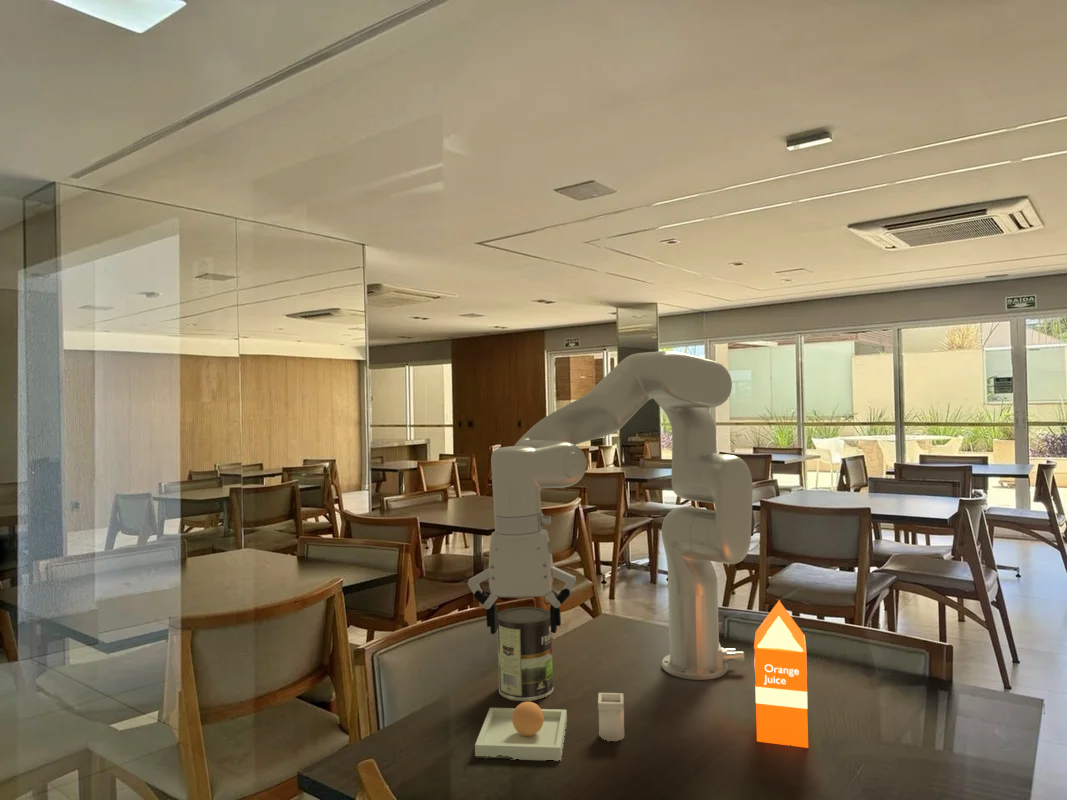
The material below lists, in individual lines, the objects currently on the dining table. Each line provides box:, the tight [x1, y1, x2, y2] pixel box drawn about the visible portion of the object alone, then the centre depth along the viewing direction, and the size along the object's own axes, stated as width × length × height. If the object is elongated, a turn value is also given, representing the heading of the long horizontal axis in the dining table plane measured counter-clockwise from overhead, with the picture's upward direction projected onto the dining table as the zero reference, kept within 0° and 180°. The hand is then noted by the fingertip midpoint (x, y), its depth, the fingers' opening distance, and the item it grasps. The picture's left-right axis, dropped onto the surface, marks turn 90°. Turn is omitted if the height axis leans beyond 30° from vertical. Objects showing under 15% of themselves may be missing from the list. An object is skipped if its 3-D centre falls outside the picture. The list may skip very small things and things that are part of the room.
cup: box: [597, 692, 625, 743], centre depth 116 cm, size 4×4×6 cm
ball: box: [512, 701, 544, 736], centre depth 115 cm, size 5×5×5 cm
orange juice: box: [753, 599, 809, 749], centre depth 116 cm, size 8×9×20 cm
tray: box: [474, 707, 568, 762], centre depth 115 cm, size 13×13×2 cm
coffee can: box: [496, 606, 554, 702], centre depth 135 cm, size 10×10×14 cm
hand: (524, 630), depth 116 cm, fingers open, 9 cm apart
